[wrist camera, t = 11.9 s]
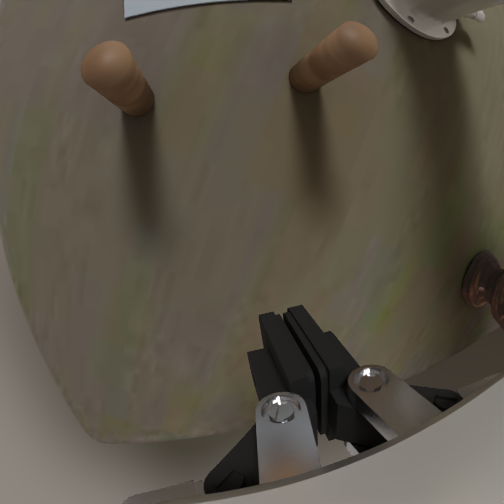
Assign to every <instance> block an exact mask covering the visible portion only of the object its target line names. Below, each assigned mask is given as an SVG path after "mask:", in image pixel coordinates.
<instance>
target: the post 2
mask: <svg viewBox="0 0 504 504" xmlns="http://www.w3.org/2000/svg"><path fill="white" fill-rule="evenodd" d="M377 53H378V43H377V40H376V38H375V36H374V34H373V33H372V32H371V31H370V30H369V29H368V28H367V27H366V26H364V25H363V24H361V23H358V22H354V21H347V22H344V23H342V24H341V25H340V26H339V27H338V28H336V29H335V30H334V31H333V32H332V33H331V34H329V35H328V36H327V37H326V38H325V39H324V40H322V41H321V42H320V43H319V44H318V45H317V46H316V47H314V48H313V49H312V50H311V51H310V52H309V53H308V54H307V55H306V56H305V57H303V58H302V59H301V60H300V61H299V62H298V63H297V64H296V65H295V66H294V67H293V68H292V69H291V70H290V72H289V81H290V83H291V85H292V86H293V87H294V88H295V89H296V90H298V91H300V92H302V93H310V92H313V91H314V90H316V89H318V88H320V87H321V86H323V85H325V84H327V83H328V82H330V81H332V80H334V79H336V78H337V77H339V76H341V75H343V74H345V73H346V72H348V71H350V70H352V69H354V68H356V67H358V66H360V65H362V64H364V63H365V62H367V61H369V60H371V59H373V58H374V57H375V56H376V55H377Z"/></svg>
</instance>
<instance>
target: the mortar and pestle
mask: <svg viewBox="0 0 504 504" xmlns="http://www.w3.org/2000/svg"><path fill="white" fill-rule="evenodd" d="M462 296H463V298H464V300H465V302H466V303H467V304H469V305H470V306H474V307H481V306H483V305H484V304H486V303H487V302H488V303H490V305H491V312H492V315H493V317H494V319H495V320H496V321H497V322H498V323H499V325H500V327H501V328H502V329H503V330H504V269H501V268H500V265H499V262H498V260H497V259H496V258H495V257H494V256H493V255H492V254H491V253H490V252H488V251H483V252H481V253H479V254H478V255H477V256H476V257H475V258H474V260H473V262H472V263H471V265H470V267H469V269H468V271H467V273H466V275H465V277H464V281H463V287H462Z"/></svg>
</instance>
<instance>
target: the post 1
mask: <svg viewBox="0 0 504 504" xmlns="http://www.w3.org/2000/svg"><path fill="white" fill-rule="evenodd" d="M81 75H82V78H83V80H84V82H85V83H86V84H88V85H89V86H90V87H92V88H93V89H94V90H96V91H97V92H98V93H100V94H101V95H102V96H104V97H105V98H106V99H108V100H109V101H110V102H112V103H113V104H114V105H116V106H117V107H118V108H120V109H121V110H122V111H123V112H125V113H126V114H127V115H129V116H132V117H139V116H142V115H144V114H146V113H147V112H148V111H149V110H150V109H151V108H152V106H153V104H154V94H153V92H152V90H151V88H150V86H149V85H148V83H147V81H146V79H145V78H144V76H143V74H142V72H141V70H140V69H139V67H138V65H137V63H136V62H135V60H134V58H133V56H132V55H131V53H130V51H129V49H128V48H127V46H125V45H124V44H123V43H121V42H118V41H106V42H103V43H100V44H98V45H97V46H95V47H94V48H92V49H91V50H90V51H89V52H88V54H87V55H86V56H85V58H84V60H83V62H82V66H81Z"/></svg>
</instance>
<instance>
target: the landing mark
mask: <svg viewBox="0 0 504 504" xmlns="http://www.w3.org/2000/svg"><path fill="white" fill-rule="evenodd" d="M228 1H246V0H124V7H125V19H126V18H130V17H134V16H138V15H142V14H146V13H151V12H156V11H161V10H166V9H171V8H177V7H184V6H190V5H198V4H206V3H216V2H228ZM290 1H292V0H290Z"/></svg>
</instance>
